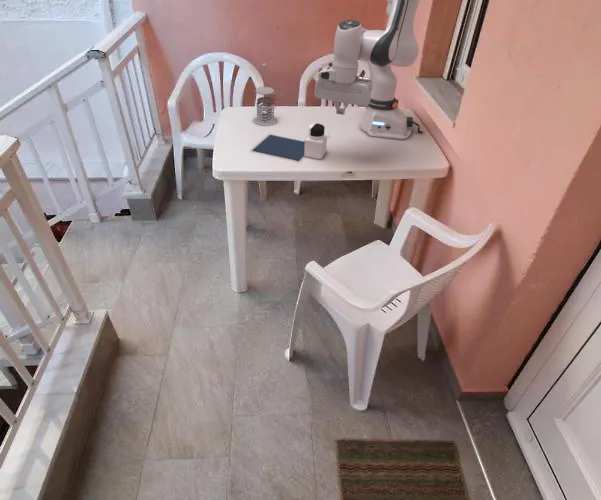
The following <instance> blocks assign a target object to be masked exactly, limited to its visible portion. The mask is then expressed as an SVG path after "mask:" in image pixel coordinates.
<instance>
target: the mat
mask: <svg viewBox="0 0 601 500" xmlns="http://www.w3.org/2000/svg"><path fill="white" fill-rule="evenodd" d="M304 147H305V141H302V140H298V139H292V138H289V137H284V136H277V135H274V134H269V135H268V136H267V137H266V138H265V139H263V140H262V141H261V142H260V143H259V144H258V145H256V147H254V148H253V149H252V151H253V152H257V153H261V154H267V155H270V156H276V157H280V158H284V159H288V160H294V161H297V162H299V161H300V160H301V159H302V158H303V157H305V156H304Z"/></svg>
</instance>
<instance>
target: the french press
mask: <svg viewBox="0 0 601 500" xmlns="http://www.w3.org/2000/svg"><path fill="white" fill-rule="evenodd" d="M261 67H262V68H263V79H264V80H263V81H264V84H263V85H264V86H259V87H258V88H256V89H255V93H256V94H258V95H261V96H262V97H261V96H260V97H258V98H257V99H256V101H257V102H256V118H255V120H254V123H255V124H257V125H260V126H273V125H274V124H276V123H277V120H276V119H275V109H276V108H277V107H278V105H279V102H277V101H275V103H274V99H273V98H272V97H273V96H275V97H276V98H279V96H278V95H279V94H277V93H276V92H275V90H274V89H273V88H272V87H270V86H266V72H265V71H266V70H265V69H266V67H267V64H266V62H265V63H262V64H261ZM269 95H270V96H272V97H268V96H269ZM276 103H277V104H276Z"/></svg>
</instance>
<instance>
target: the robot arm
mask: <svg viewBox="0 0 601 500" xmlns="http://www.w3.org/2000/svg"><path fill="white" fill-rule="evenodd" d="M385 1H386V2H387V5H386V9H385V12H386V16H387V18H388V21H387V24H386V28H385V30H382V29H366V28H364V27H362V23H361V22H360V21H359V20H356V19H346V20H345V19H344V20H343V21H341V22H339V23H338V24H337V27H336V31H335V34H334V41H333V60H332V65H331V66H328V67H324V68H322V69H321V70H320V71H319V72H318V73H317V80H316V81H315V85H314V93H313V95H314V97H315V98H316V99H319V100H325V101H330V102H333V105H334V108H335V109H336V110H335V114H336V115H342V116H344V115H345V114H346V109H347V108H348V107H349V105H354V106H359V107H364V108H365V112H364V117H363V119H362V122H361V124H360V129H361V130H362V131H363V132H365V133H367V134H368V136H369V137H375V138H376V137H377V138H386V139H395V140H406V139H408V138H409V137H410V136H411V135H412V128H413V125H415V126H417V132H418V134H423V130H420V129H421V126H420V124H419V123H418V122H415V121H414V117H413V116H407V115H406V114H405V113H404V112H403V111H402V110H401V109H400V108H399V107H398V106H399V98H398V99H397V98H396V92H397V84H398V78H397V76H396V74H395V73H394V72H393V70H392V67H391V66H394V67H401V68H408V67H411V66H412V65H413V64H414V63H415V62H416V60H417V58H418V56H419V54H420V47H419V43H418V41H417V39H416V37H415V33H414V21H415V17H416V12H417V9H418V7H419V3H420V0H385ZM359 61H361V62H365V63H367V66H368V69H369V77H370V78H369V77H362V76H358V71H359ZM339 103H341V104H343V108H342V107H340V105H339Z"/></svg>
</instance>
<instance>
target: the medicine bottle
mask: <svg viewBox="0 0 601 500" xmlns="http://www.w3.org/2000/svg"><path fill="white" fill-rule="evenodd" d="M304 142H305V147H304V156H303V157H306V158H312V159H317V160H322V159H323V157H324V156H325V154H326V153H327V144H328V135H327V134H325V126H324V124H321V123H311V124H309V126H308V135H307V137H305V139H304Z"/></svg>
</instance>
